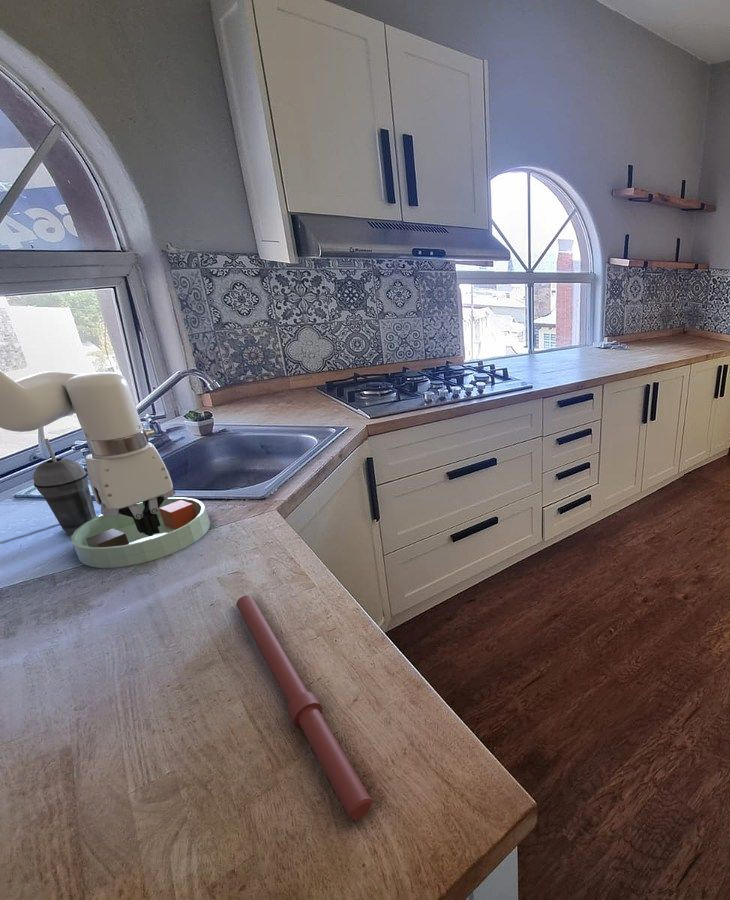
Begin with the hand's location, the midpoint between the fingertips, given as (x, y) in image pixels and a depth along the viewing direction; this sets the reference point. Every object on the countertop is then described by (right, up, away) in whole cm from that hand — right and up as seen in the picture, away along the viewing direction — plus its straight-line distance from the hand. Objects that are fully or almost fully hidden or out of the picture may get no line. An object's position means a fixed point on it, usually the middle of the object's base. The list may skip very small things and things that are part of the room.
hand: (150, 532), depth 95 cm
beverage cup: (-17, -1, +4) cm, 18 cm away
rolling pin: (+45, -16, -29) cm, 56 cm away
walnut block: (-4, -4, -3) cm, 6 cm away
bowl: (-2, -2, +2) cm, 3 cm away
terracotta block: (0, +1, +7) cm, 7 cm away
